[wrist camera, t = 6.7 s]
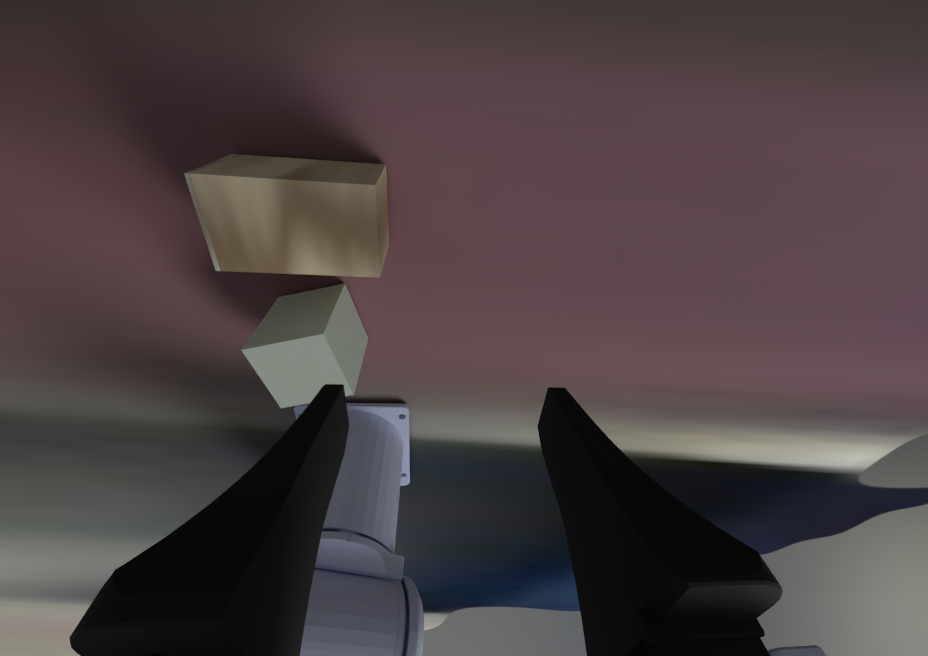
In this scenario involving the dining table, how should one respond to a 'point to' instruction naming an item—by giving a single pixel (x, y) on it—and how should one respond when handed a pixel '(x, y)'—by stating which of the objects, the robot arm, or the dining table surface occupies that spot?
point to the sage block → (308, 345)
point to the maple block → (293, 215)
